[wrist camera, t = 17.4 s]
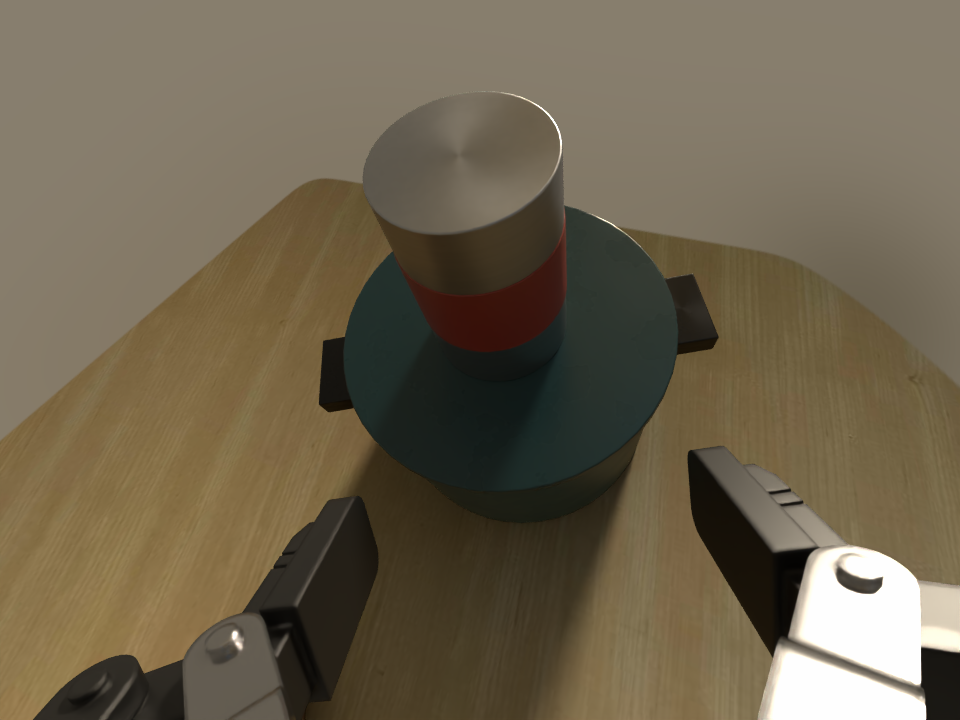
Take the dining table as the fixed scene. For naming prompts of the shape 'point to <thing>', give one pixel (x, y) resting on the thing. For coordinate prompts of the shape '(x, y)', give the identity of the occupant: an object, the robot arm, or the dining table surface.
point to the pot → (522, 382)
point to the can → (478, 227)
